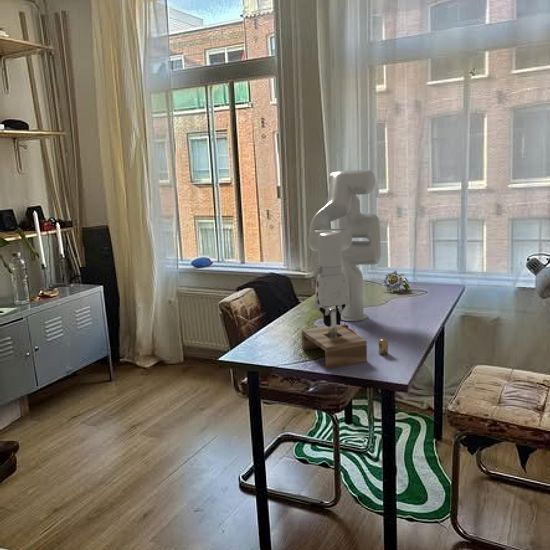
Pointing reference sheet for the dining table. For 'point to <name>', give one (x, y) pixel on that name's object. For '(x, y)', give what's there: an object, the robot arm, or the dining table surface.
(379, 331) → the dining table surface
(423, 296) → the dining table surface
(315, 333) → the hole stand
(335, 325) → the long pin
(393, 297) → the dining table surface
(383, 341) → the short pin
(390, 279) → the passion flower
